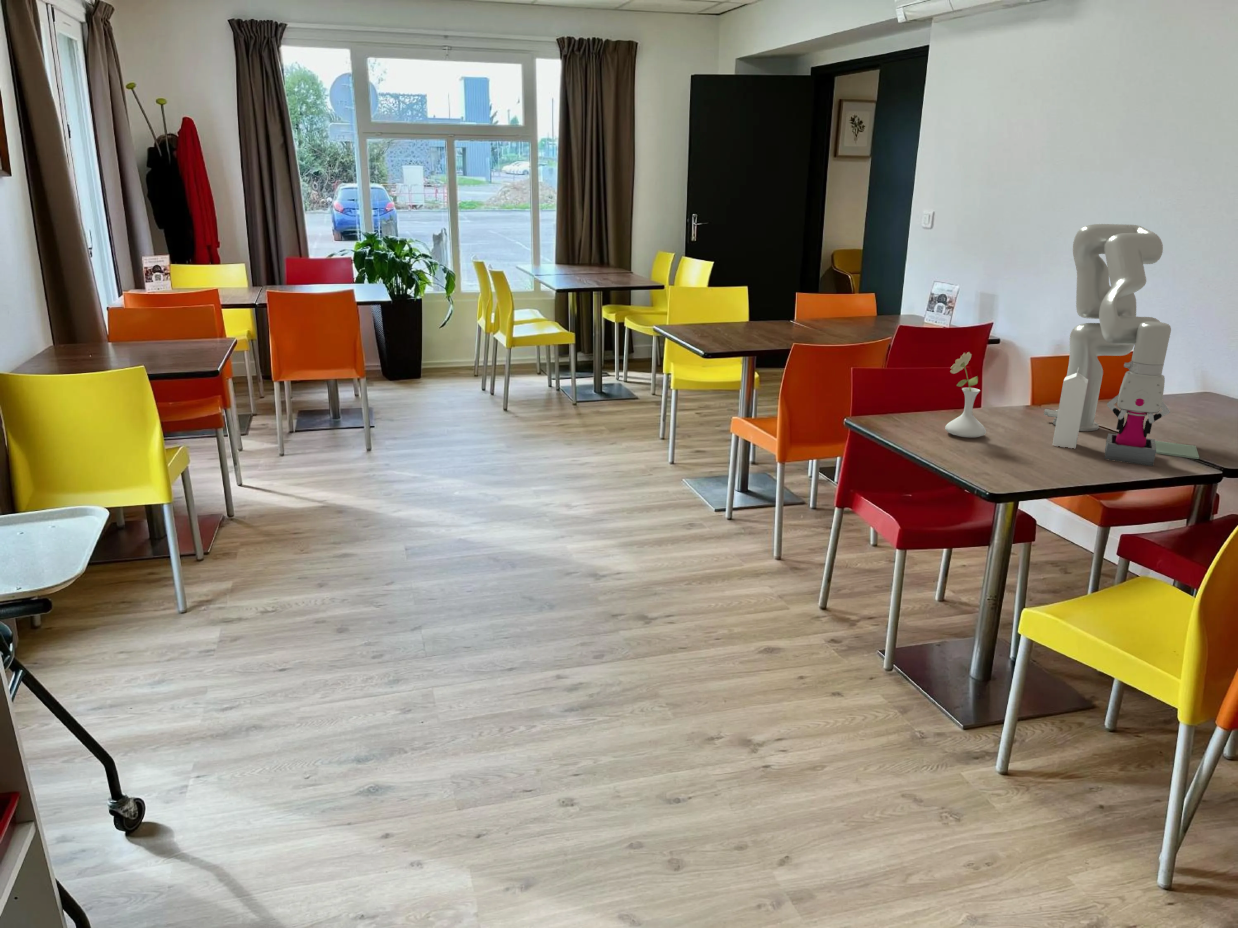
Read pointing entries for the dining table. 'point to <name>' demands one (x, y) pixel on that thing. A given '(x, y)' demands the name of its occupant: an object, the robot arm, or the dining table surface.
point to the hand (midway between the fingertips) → (1132, 433)
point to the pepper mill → (1133, 428)
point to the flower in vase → (966, 405)
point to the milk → (1070, 411)
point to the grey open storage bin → (1130, 451)
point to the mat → (1176, 449)
